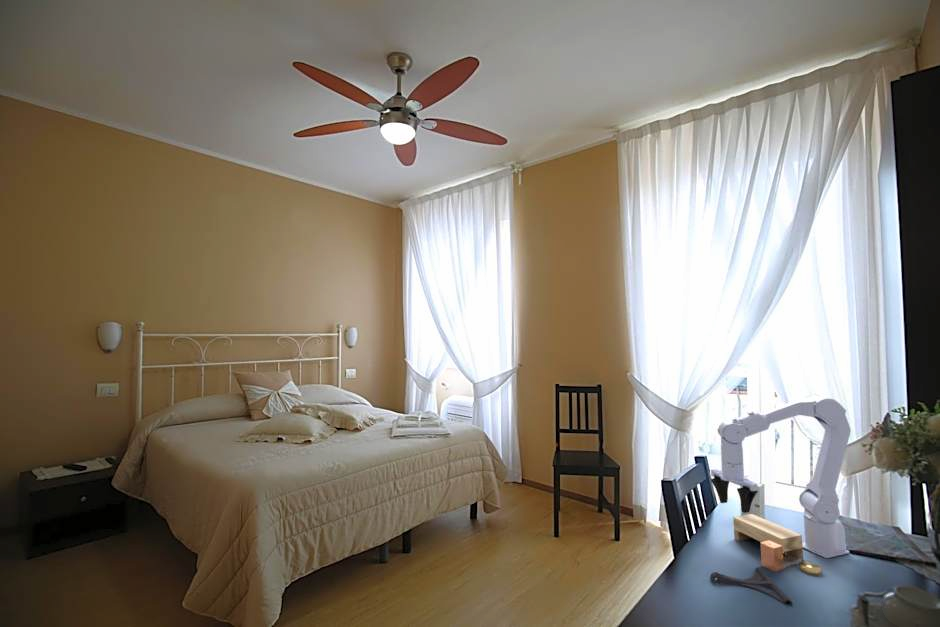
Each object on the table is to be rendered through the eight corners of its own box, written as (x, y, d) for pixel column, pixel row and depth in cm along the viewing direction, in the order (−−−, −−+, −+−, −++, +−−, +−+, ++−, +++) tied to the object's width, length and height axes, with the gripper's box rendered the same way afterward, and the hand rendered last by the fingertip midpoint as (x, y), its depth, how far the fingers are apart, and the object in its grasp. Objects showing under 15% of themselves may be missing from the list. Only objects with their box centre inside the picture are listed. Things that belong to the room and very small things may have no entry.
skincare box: (740, 517, 145) (738, 481, 146) (746, 514, 148) (744, 478, 148) (760, 523, 140) (759, 486, 141) (766, 520, 143) (764, 483, 143)
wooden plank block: (753, 535, 132) (752, 513, 132) (803, 559, 118) (801, 535, 118) (734, 538, 130) (733, 517, 130) (783, 563, 116) (781, 539, 116)
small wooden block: (789, 556, 119) (787, 534, 119) (802, 562, 116) (801, 540, 116) (761, 565, 115) (760, 542, 115) (774, 572, 112) (773, 548, 112)
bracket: (701, 568, 115) (700, 558, 115) (762, 573, 112) (761, 562, 112) (722, 601, 101) (722, 589, 101) (792, 608, 98) (792, 595, 98)
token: (799, 565, 115) (799, 559, 115) (820, 570, 113) (820, 564, 113) (800, 572, 112) (800, 566, 112) (822, 578, 109) (821, 572, 109)
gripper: (702, 456, 136) (704, 500, 135) (743, 470, 122) (746, 518, 121) (720, 454, 138) (722, 497, 137) (762, 467, 124) (764, 515, 123)
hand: (734, 507), depth 129 cm, fingers open, 7 cm apart
